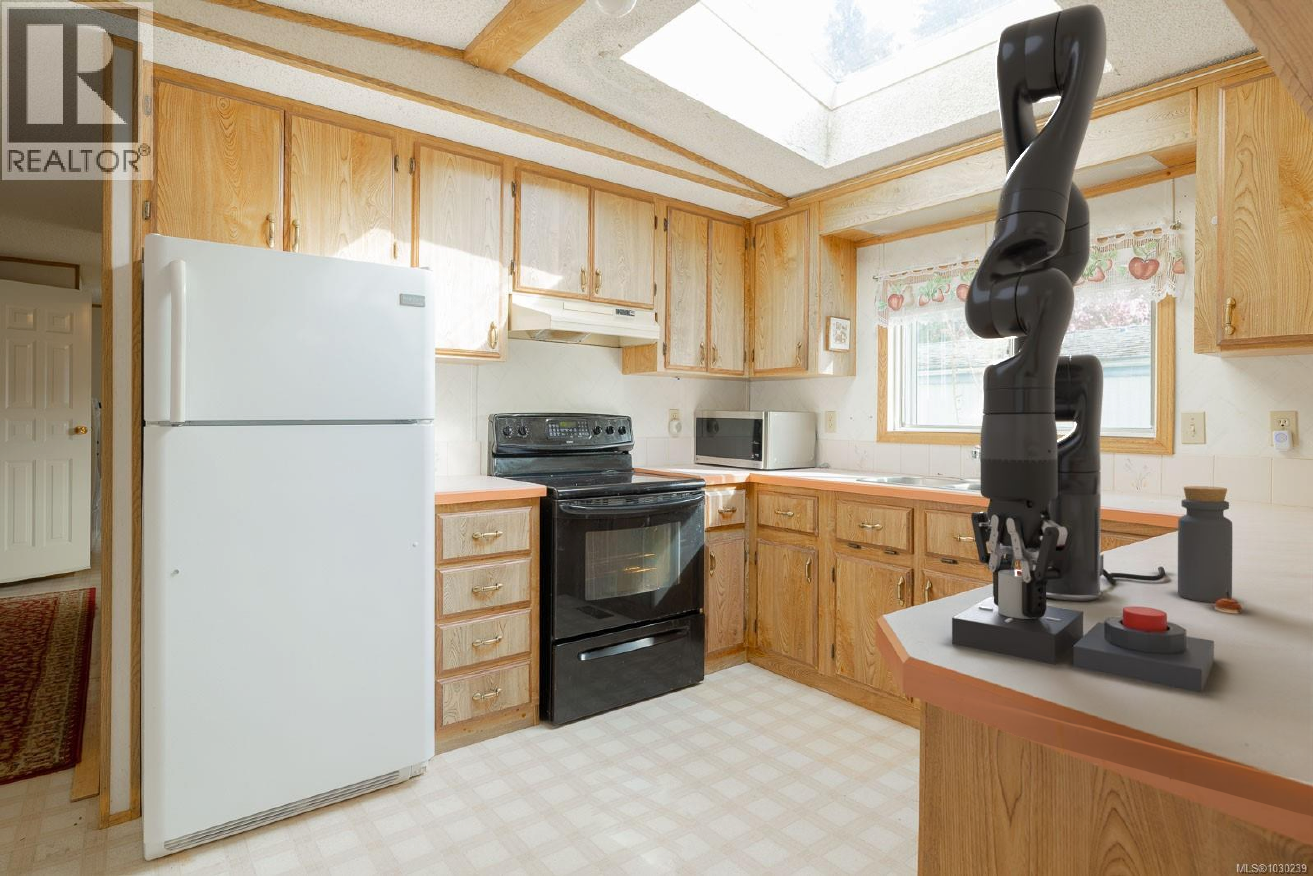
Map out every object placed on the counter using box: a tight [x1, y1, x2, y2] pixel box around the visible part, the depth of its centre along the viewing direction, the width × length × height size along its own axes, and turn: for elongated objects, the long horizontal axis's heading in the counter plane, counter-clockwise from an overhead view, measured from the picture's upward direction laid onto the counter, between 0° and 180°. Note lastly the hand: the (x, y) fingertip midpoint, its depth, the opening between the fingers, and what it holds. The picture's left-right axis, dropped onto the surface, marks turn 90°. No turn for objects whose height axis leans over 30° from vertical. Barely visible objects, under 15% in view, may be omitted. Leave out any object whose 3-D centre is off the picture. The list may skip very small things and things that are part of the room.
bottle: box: [1177, 485, 1233, 603], centre depth 96 cm, size 6×6×15 cm
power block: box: [1072, 615, 1215, 693], centre depth 70 cm, size 11×10×4 cm
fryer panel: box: [951, 596, 1084, 666], centre depth 78 cm, size 12×10×3 cm
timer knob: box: [998, 569, 1038, 619], centre depth 77 cm, size 4×4×5 cm
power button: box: [1122, 605, 1168, 631], centre depth 70 cm, size 4×4×2 cm
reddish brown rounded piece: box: [1214, 589, 1243, 614], centre depth 89 cm, size 3×3×3 cm
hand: (1018, 610), depth 78 cm, fingers closed on timer knob, 4 cm apart
